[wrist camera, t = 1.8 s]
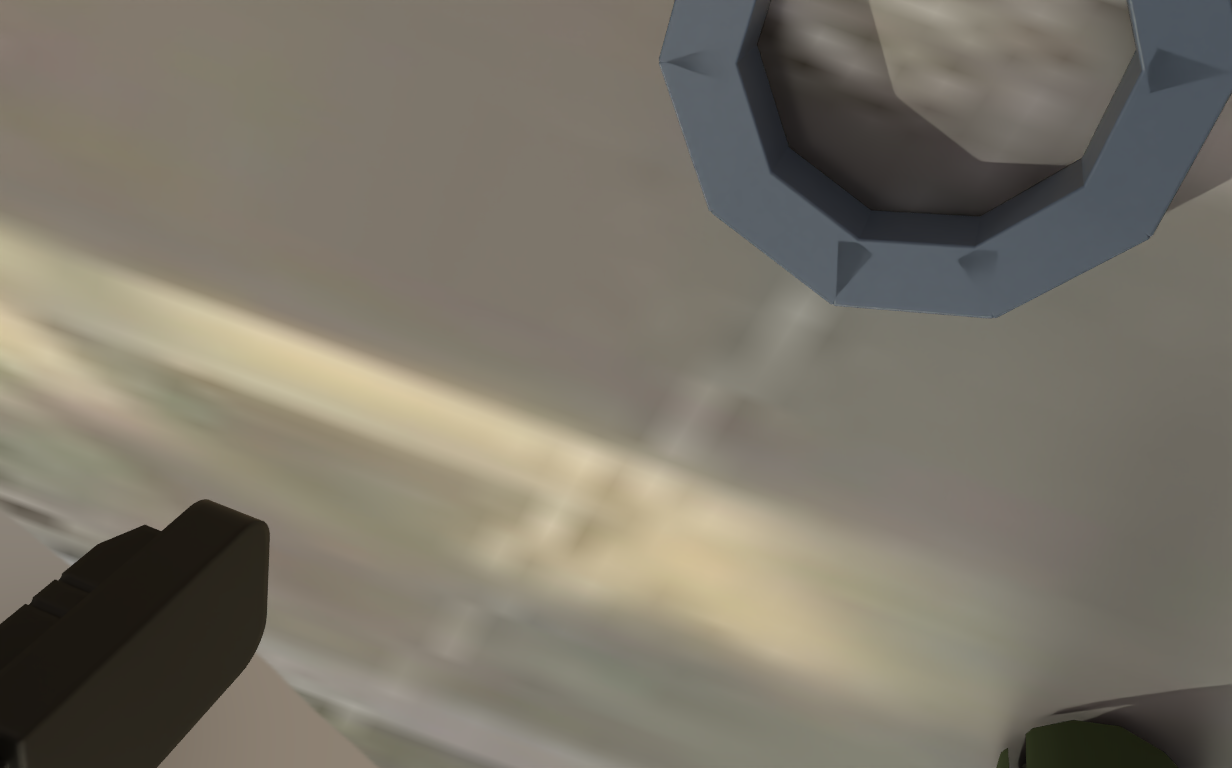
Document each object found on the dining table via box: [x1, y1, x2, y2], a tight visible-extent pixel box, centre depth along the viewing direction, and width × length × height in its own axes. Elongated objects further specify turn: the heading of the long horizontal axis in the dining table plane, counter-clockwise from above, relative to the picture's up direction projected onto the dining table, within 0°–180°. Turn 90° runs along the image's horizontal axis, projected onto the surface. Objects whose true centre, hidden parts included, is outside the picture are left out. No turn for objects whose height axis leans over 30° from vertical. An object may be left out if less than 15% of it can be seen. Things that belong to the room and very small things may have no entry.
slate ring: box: [659, 0, 1232, 318], centre depth 29 cm, size 13×14×2 cm
